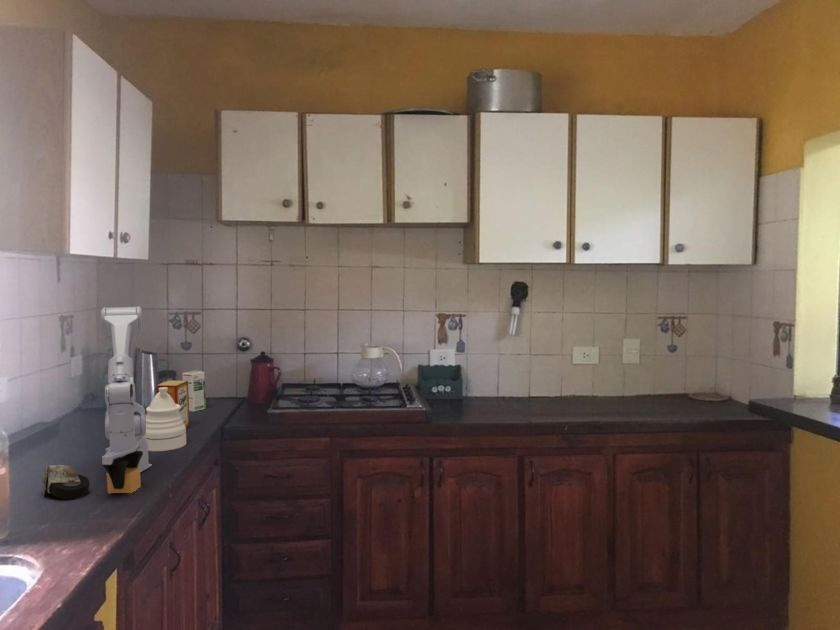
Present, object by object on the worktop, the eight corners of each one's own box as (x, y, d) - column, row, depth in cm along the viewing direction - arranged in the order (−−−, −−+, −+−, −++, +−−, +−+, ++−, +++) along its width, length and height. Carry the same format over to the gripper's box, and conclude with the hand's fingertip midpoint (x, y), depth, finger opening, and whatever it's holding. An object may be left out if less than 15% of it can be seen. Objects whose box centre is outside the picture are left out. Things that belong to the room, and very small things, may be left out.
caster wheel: (88, 506, 163) (41, 508, 157) (85, 483, 172) (40, 484, 167) (92, 481, 161) (44, 482, 156) (88, 459, 171) (43, 460, 166)
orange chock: (116, 487, 169) (115, 467, 168) (140, 487, 168) (140, 468, 168) (106, 493, 164) (105, 473, 164) (131, 494, 164) (130, 473, 163)
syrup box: (193, 412, 252) (192, 373, 250) (183, 410, 255) (182, 372, 254) (206, 409, 256) (205, 371, 255) (196, 407, 260) (194, 369, 258)
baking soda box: (170, 425, 231) (169, 379, 230) (189, 425, 231) (187, 379, 229) (158, 432, 222) (156, 384, 220) (178, 432, 221) (176, 384, 220)
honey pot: (190, 447, 205) (188, 388, 203) (145, 453, 198) (142, 392, 197) (181, 437, 216) (179, 381, 214) (138, 443, 209) (136, 385, 208)
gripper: (122, 422, 172) (124, 475, 174) (88, 437, 158) (91, 494, 159) (148, 423, 172) (151, 475, 173) (117, 438, 157) (120, 495, 158)
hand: (124, 484), depth 166 cm, fingers closed on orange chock, 4 cm apart
